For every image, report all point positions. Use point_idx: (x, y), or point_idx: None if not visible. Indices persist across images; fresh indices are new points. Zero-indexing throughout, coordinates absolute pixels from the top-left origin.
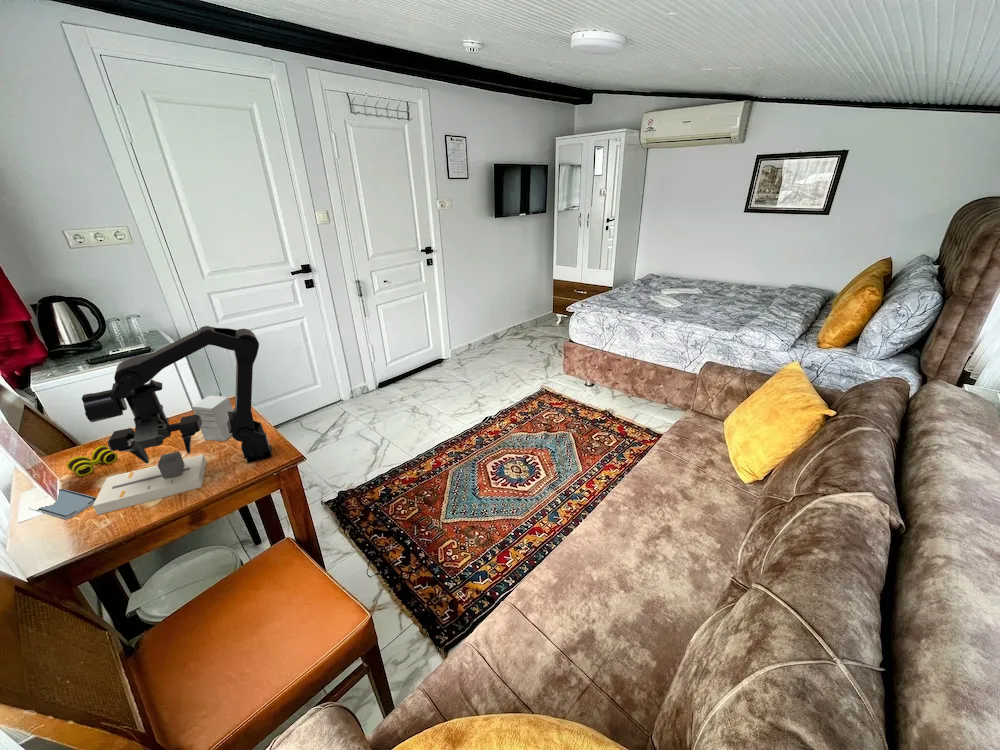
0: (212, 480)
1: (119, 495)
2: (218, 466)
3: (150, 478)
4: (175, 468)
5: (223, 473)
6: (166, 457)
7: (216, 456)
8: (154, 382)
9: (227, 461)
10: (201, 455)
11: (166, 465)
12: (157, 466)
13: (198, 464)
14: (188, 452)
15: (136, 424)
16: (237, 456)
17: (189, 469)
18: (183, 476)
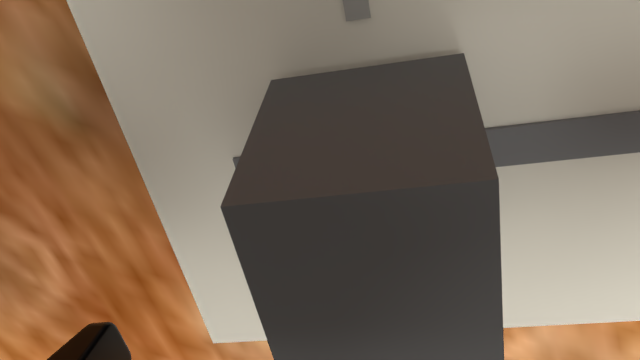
0: (49, 4)
1: None
2: (109, 199)
3: (630, 128)
4: (288, 128)
5: (4, 86)
6: (415, 340)
7: (191, 320)
8: None
9: (68, 239)
10: (222, 334)
11: (372, 169)
12: (585, 306)
13: (184, 217)
14: (85, 337)
15: None
16: (23, 274)
17: (236, 160)
18: (251, 48)
